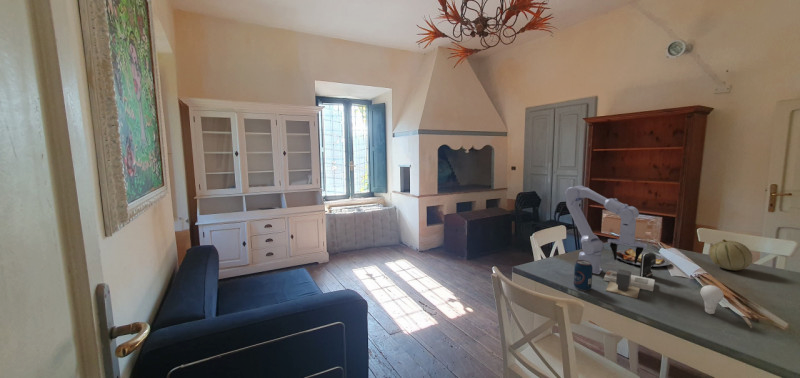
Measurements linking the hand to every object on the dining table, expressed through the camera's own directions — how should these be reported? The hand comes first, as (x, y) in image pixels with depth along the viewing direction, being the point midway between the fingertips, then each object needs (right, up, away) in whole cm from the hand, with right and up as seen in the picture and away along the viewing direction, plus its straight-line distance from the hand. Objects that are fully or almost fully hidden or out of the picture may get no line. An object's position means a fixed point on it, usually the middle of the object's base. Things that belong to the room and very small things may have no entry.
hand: (625, 261), depth 146 cm
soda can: (-23, -11, -6) cm, 26 cm away
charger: (-7, -10, -9) cm, 15 cm away
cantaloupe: (+60, -7, +12) cm, 62 cm away
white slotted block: (+1, -10, -1) cm, 10 cm away
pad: (-7, -11, -9) cm, 16 cm away
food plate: (+26, -6, +26) cm, 37 cm away
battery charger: (+14, -9, +5) cm, 17 cm away
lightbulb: (+10, -13, -29) cm, 34 cm away
